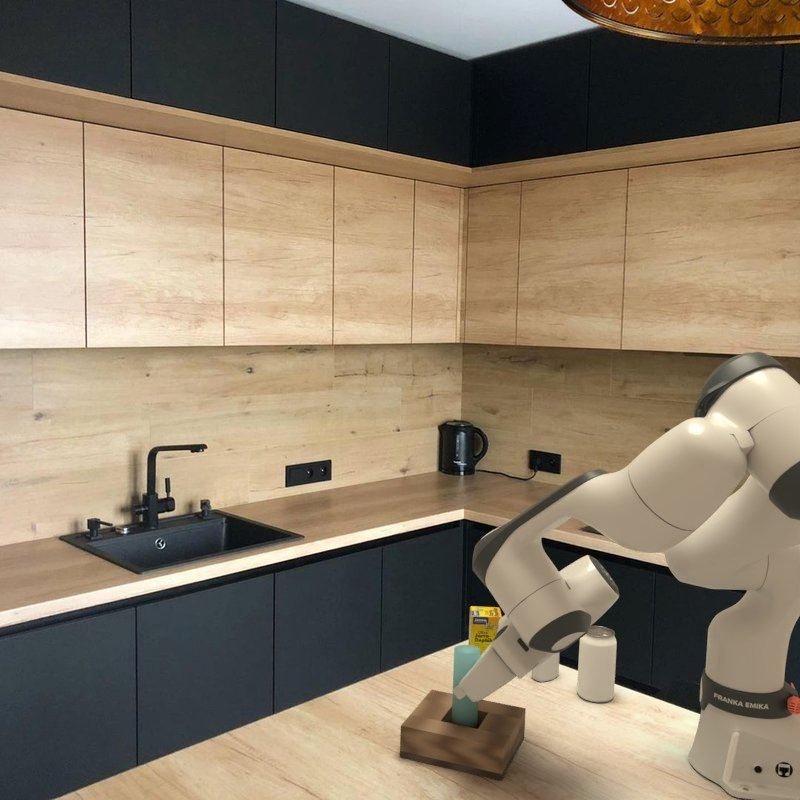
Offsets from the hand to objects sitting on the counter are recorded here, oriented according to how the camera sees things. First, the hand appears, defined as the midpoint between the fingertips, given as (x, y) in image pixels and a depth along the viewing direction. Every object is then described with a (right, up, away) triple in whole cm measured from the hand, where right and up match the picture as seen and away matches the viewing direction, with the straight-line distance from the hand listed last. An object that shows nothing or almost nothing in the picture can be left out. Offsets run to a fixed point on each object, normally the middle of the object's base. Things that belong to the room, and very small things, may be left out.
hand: (462, 687), depth 133 cm
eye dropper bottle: (+18, -8, +29) cm, 34 cm away
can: (+26, -9, +21) cm, 34 cm away
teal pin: (0, -6, 0) cm, 6 cm away
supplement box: (+7, -7, +33) cm, 34 cm away
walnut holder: (0, -10, +1) cm, 10 cm away
